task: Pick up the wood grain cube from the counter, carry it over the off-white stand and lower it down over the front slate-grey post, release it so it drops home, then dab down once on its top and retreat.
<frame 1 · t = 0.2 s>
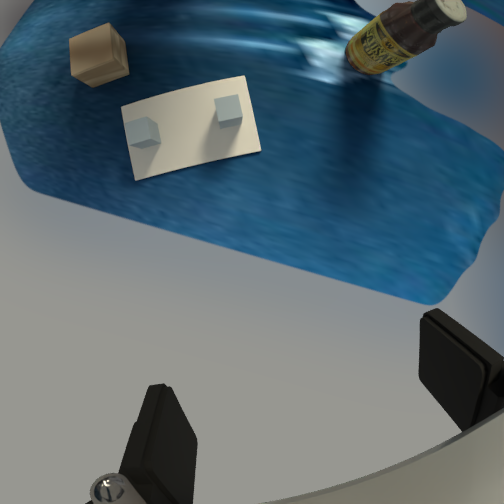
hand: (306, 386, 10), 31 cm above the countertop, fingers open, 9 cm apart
post stand: (188, 126, 37), on the countertop
sauce bottle: (364, 58, 36), on the countertop
wood grain cube: (108, 64, 34), on the countertop
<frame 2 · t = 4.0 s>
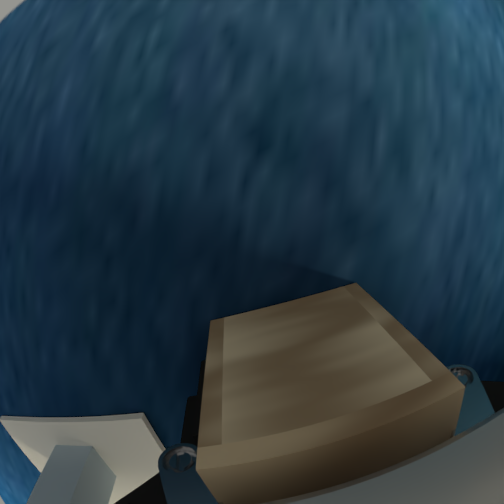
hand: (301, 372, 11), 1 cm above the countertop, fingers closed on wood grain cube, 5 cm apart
post stand: (129, 503, 14), on the countertop
wood grain cube: (298, 363, 12), on the countertop, touching gripper
when the fingers open (3 cm above the countertop, at t = 8.3 s): wood grain cube drops 2 cm, resting on post stand.
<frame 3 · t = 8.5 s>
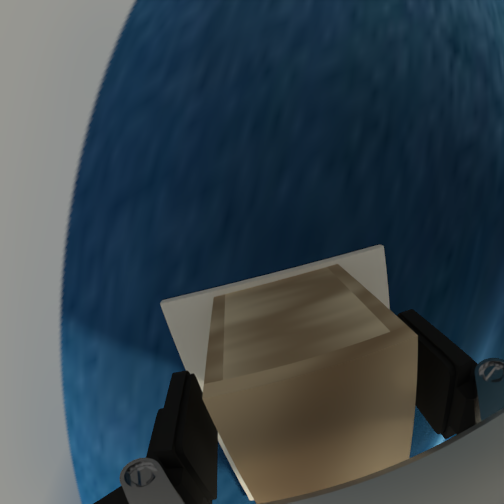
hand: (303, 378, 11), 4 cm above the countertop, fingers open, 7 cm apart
post stand: (304, 408, 16), on the countertop
wood grain cube: (289, 335, 14), resting on post stand
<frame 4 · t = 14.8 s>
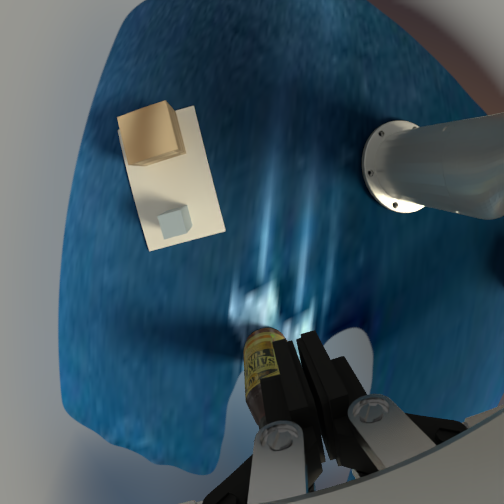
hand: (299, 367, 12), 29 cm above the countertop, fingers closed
post stand: (169, 178, 38), on the countertop
sauce bottle: (264, 345, 44), on the countertop
wood grain cube: (160, 139, 36), resting on post stand
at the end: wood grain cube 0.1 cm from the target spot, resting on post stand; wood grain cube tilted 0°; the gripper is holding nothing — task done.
